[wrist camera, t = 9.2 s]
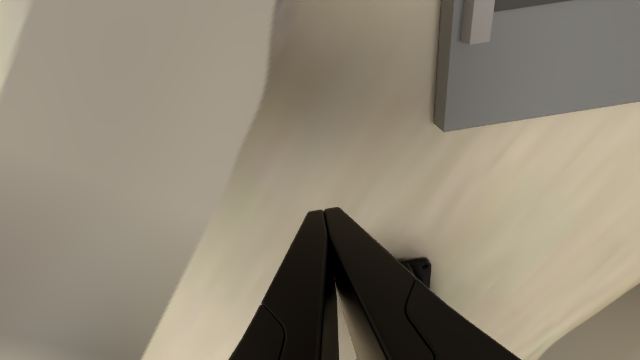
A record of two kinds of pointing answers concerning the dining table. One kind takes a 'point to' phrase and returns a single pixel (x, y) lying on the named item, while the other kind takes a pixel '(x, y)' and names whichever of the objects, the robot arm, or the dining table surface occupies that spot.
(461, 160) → the dining table surface
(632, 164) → the dining table surface
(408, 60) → the dining table surface
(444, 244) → the dining table surface
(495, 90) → the grey fader track
